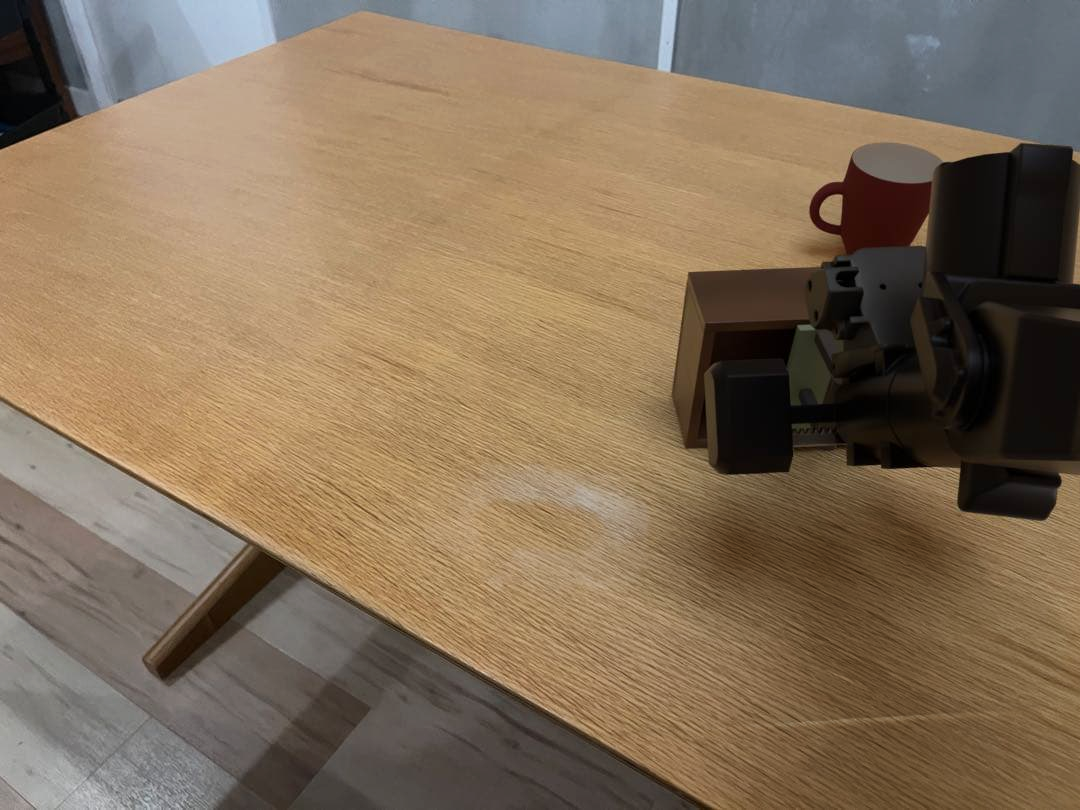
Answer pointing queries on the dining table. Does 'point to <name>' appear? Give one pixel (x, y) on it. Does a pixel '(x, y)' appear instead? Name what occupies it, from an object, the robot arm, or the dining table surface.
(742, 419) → the robot arm
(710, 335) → the cabinet
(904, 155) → the mug
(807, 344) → the door
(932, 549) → the dining table surface
